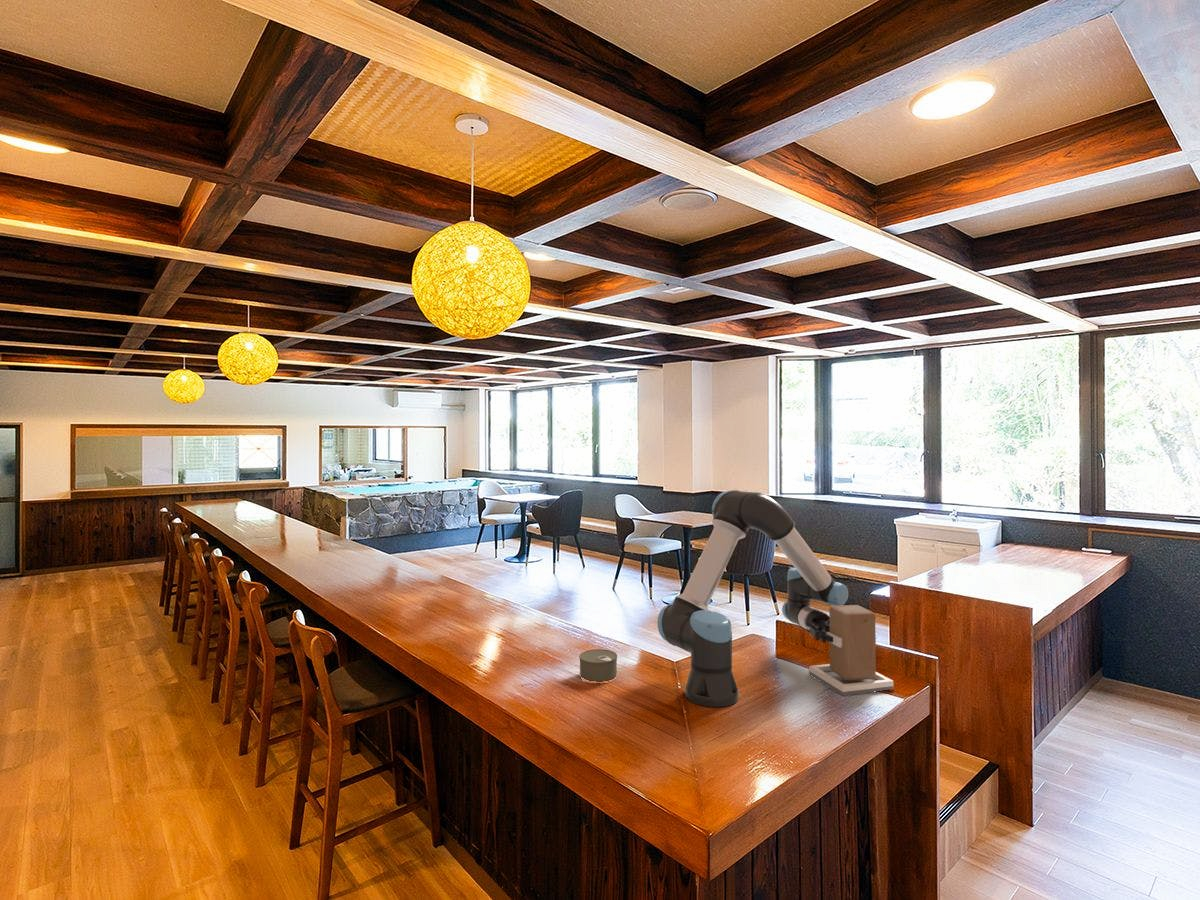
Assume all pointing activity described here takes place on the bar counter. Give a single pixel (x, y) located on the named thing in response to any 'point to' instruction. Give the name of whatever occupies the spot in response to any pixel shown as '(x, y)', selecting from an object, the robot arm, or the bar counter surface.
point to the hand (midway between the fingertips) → (858, 641)
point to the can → (598, 665)
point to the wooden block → (853, 642)
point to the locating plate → (849, 681)
